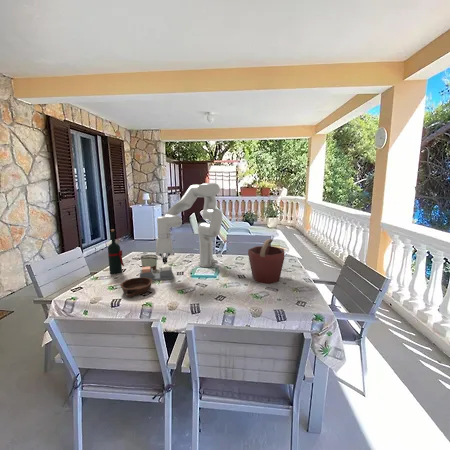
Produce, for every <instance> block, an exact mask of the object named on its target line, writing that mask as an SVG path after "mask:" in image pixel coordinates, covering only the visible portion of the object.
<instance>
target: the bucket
mask: <svg viewBox="0 0 450 450" xmlns="http://www.w3.org/2000/svg"><path fill="white" fill-rule="evenodd" d="M273 241H274V239H272V238H268V239H266V240H264V242H263V244H262V246H261V245H260V246H253V247H251V248H249V249H248V250H247V255H248V260H249V265H250V271H251V275H252V279H253V280H255V282H256V283H259V284H260V283H261V284H267V285H271V284H274V283H275V284H276V283H278V282H280V280H281V279H280V278H281V274H282V270H283V267H284V261H285V249H284V248H282V247H281V248H280V247H277V246H272V245H271V243H272V242H273Z"/></svg>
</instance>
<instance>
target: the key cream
mask: <svg viewBox="0 0 450 450" xmlns="http://www.w3.org/2000/svg"><path fill="white" fill-rule="evenodd" d="M170 267H171V266H170V264H162V265H161V267H160V268H162V271H167V270H170Z"/></svg>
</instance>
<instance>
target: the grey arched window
mask: <svg viewBox="0 0 450 450" xmlns="http://www.w3.org/2000/svg"><path fill="white" fill-rule="evenodd" d="M140 260H141V268H142V267H149V266H150V269H152V268H153V272H155V271H157V264H158V262H157V261H158V260H159V259H158V255H156V254H151V253H150V254H144V255H141V256H140Z"/></svg>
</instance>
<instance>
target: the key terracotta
mask: <svg viewBox="0 0 450 450" xmlns="http://www.w3.org/2000/svg"><path fill="white" fill-rule="evenodd" d="M141 269H142V273H146V272H151V269H150V266H149V267H142V266H141Z"/></svg>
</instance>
